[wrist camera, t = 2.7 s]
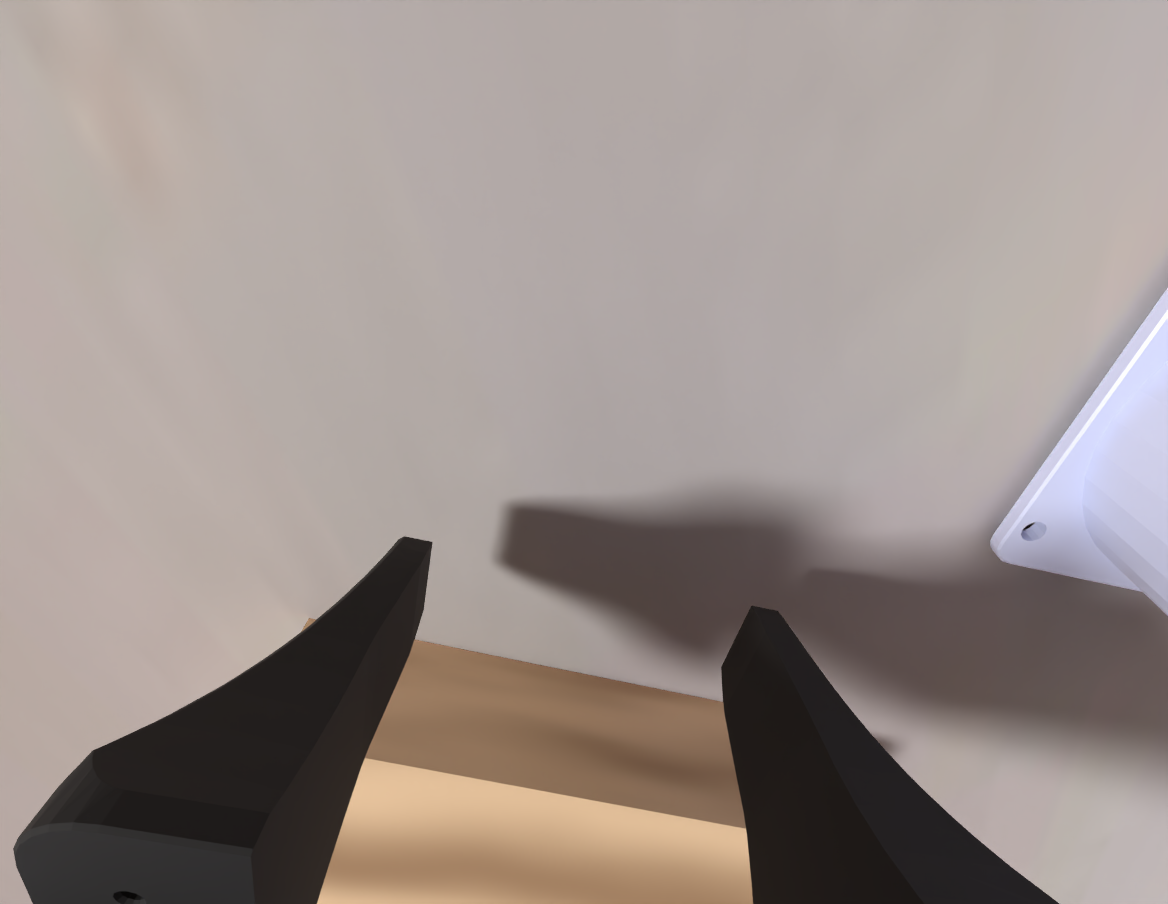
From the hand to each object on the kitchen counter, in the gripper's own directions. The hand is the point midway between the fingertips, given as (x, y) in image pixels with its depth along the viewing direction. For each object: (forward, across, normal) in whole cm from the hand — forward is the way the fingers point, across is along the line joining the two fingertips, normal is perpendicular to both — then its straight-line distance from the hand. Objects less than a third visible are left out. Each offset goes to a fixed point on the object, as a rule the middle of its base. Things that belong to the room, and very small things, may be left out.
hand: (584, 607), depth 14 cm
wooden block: (+2, 0, +8) cm, 9 cm away
